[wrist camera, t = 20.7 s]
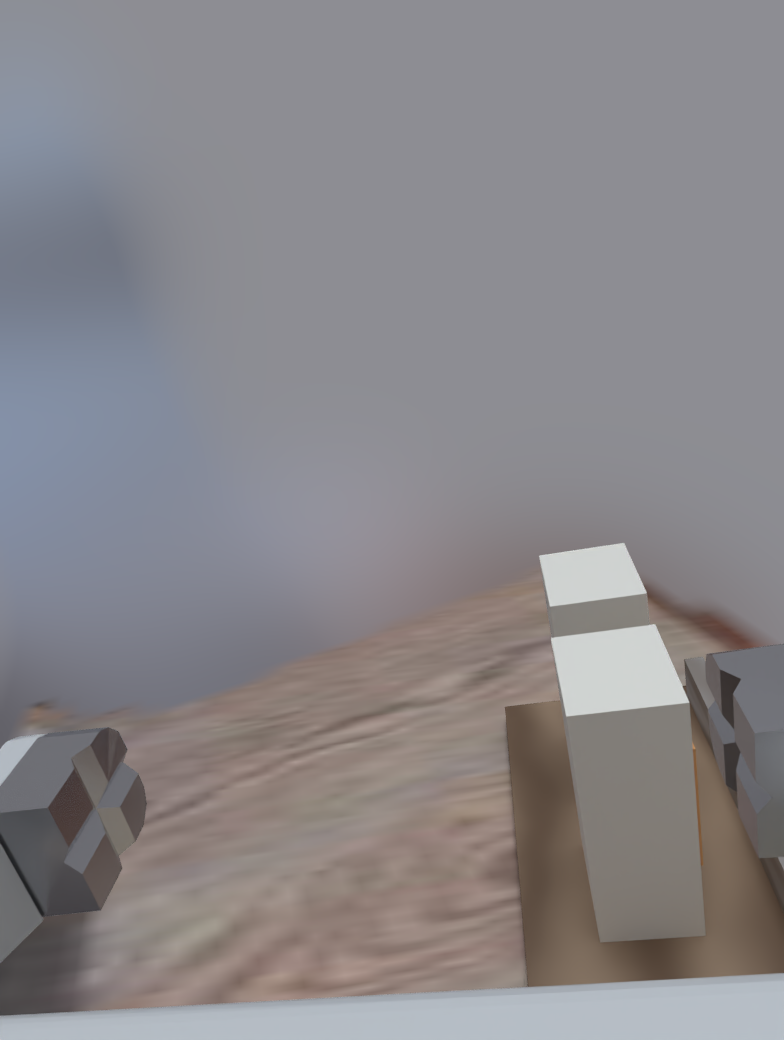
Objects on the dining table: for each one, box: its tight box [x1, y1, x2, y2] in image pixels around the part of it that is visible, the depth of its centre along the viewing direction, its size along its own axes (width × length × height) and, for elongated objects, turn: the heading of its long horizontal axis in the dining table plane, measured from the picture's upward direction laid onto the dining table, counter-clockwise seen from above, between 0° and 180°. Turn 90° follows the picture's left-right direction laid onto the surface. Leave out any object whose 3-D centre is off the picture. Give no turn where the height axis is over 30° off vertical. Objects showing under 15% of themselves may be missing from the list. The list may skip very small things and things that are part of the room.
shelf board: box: [505, 657, 784, 987], centre depth 42 cm, size 14×24×4 cm, turn 175°
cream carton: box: [551, 624, 706, 942], centre depth 36 cm, size 5×6×14 cm
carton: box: [539, 543, 650, 638], centre depth 44 cm, size 5×6×14 cm
